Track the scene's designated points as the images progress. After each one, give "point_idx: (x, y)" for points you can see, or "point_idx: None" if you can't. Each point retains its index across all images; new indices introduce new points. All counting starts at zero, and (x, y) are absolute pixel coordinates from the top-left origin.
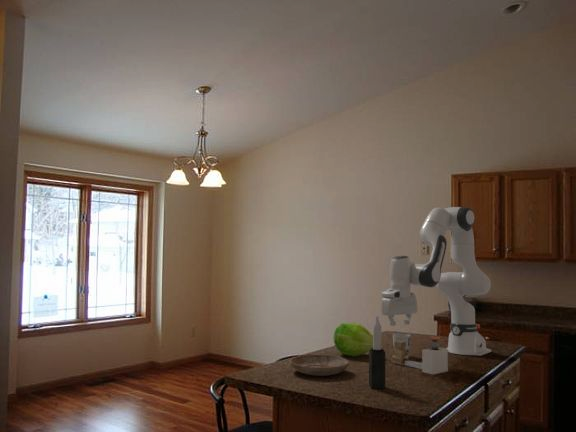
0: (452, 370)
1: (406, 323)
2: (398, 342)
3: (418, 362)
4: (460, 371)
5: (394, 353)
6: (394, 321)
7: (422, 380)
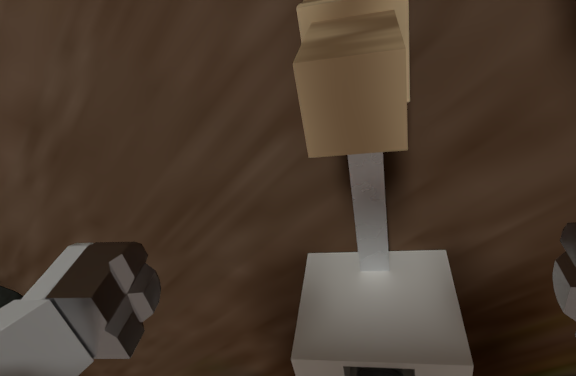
0: (484, 298)
1: (560, 280)
2: (304, 124)
3: (384, 194)
4: (497, 323)
5: (310, 27)
6: (107, 350)
7: (205, 322)
